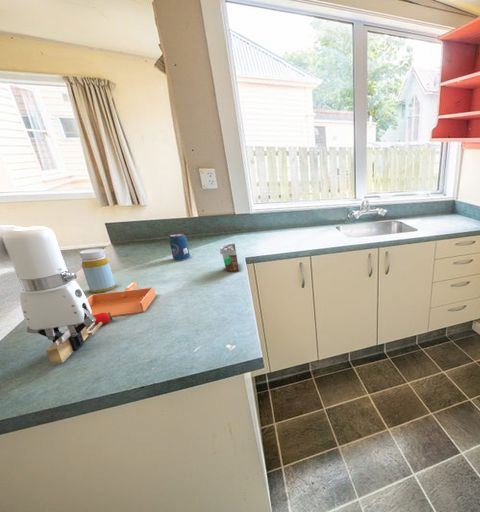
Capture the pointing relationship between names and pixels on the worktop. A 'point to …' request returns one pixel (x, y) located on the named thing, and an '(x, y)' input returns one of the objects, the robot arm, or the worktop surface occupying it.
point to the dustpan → (122, 301)
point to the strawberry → (103, 318)
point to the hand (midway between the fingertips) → (71, 348)
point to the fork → (67, 344)
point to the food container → (230, 257)
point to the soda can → (179, 247)
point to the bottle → (97, 270)
